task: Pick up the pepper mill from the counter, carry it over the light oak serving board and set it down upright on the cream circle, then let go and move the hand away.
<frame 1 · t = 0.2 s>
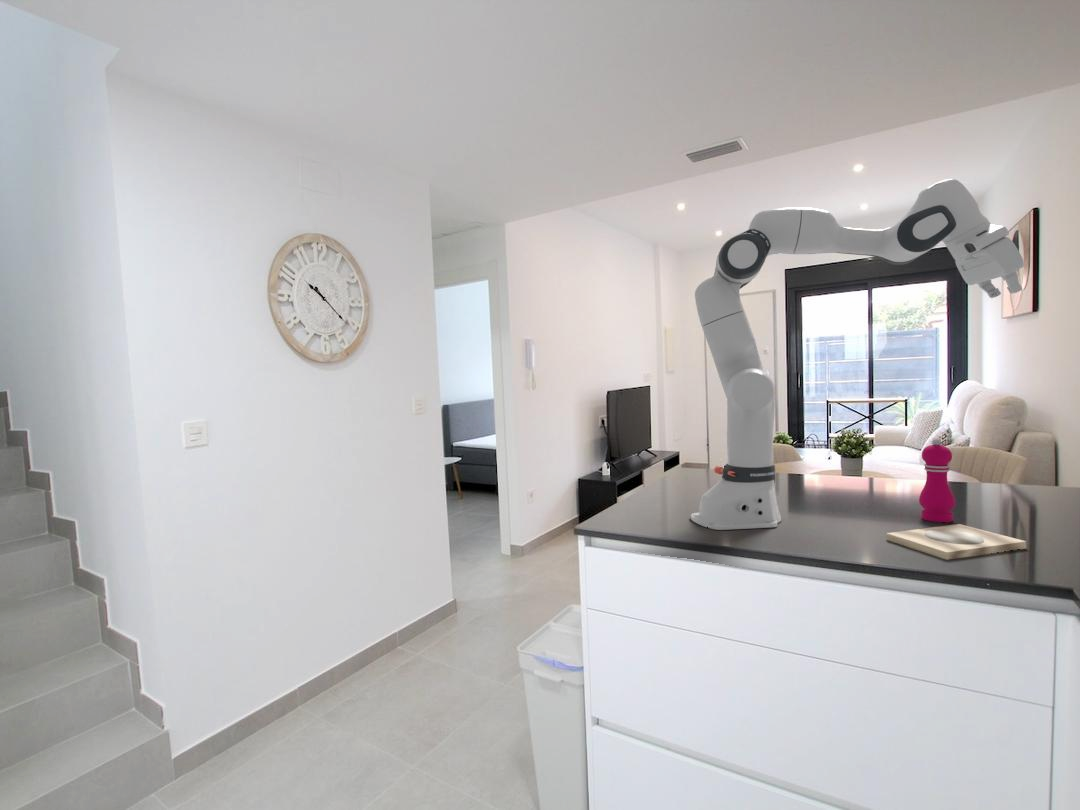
hand: (1006, 294, 125), 53 cm above the worktop, tool tilted 30°, fingers open, 8 cm apart
oak board: (953, 544, 116), on the worktop
pepper mill: (937, 520, 135), on the worktop
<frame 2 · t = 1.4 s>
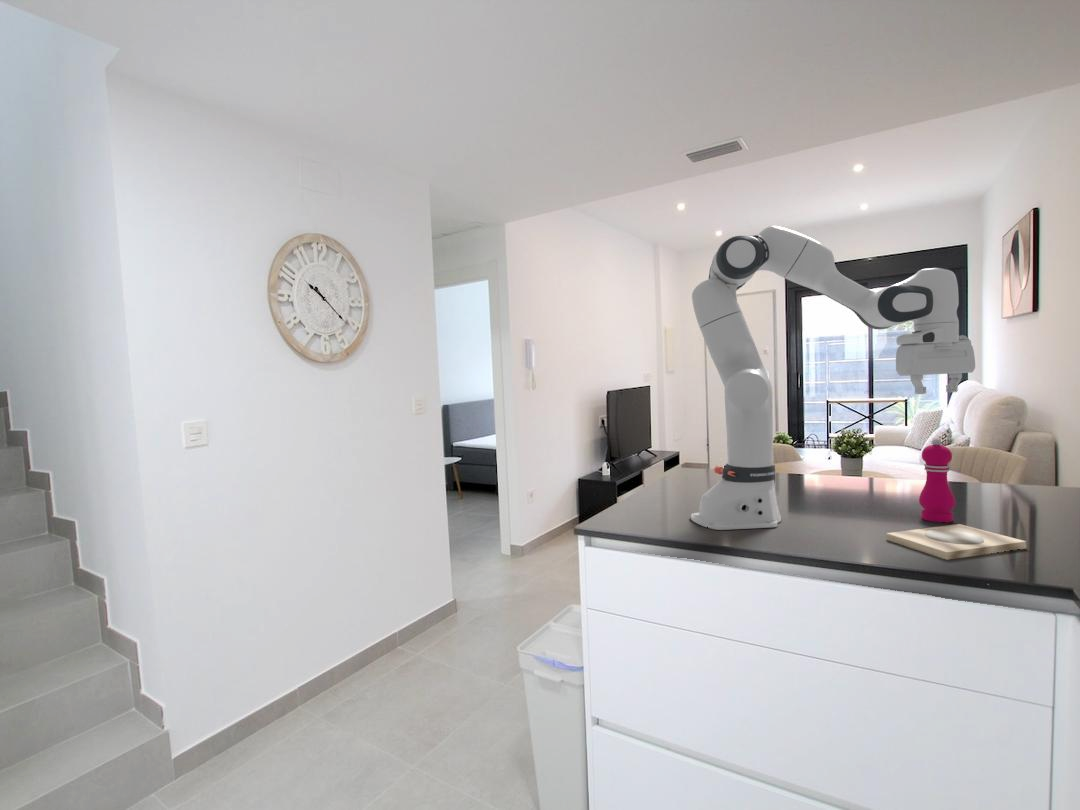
hand: (936, 393, 133), 31 cm above the worktop, tool pointing down, fingers open, 8 cm apart
nothing on the worktop moved.
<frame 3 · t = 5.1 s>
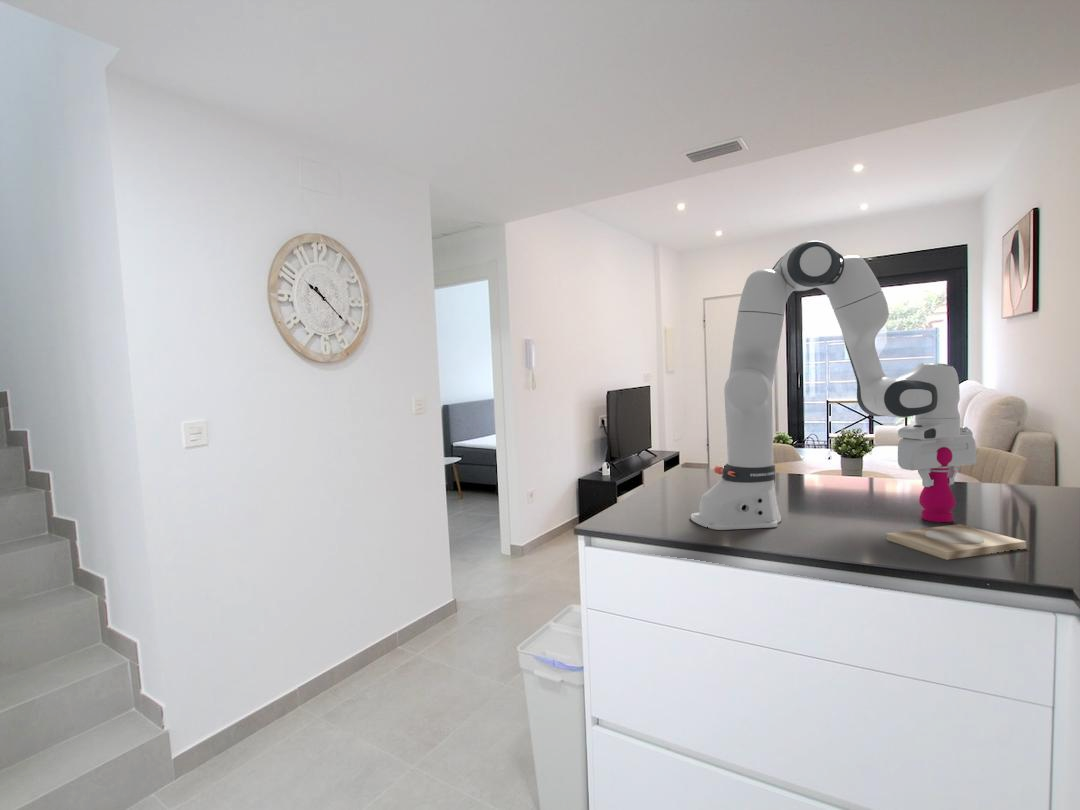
hand: (938, 485, 134), 8 cm above the worktop, tool pointing down, fingers open, 5 cm apart
pepper mill: (937, 520, 135), on the worktop, touching arm, gripper
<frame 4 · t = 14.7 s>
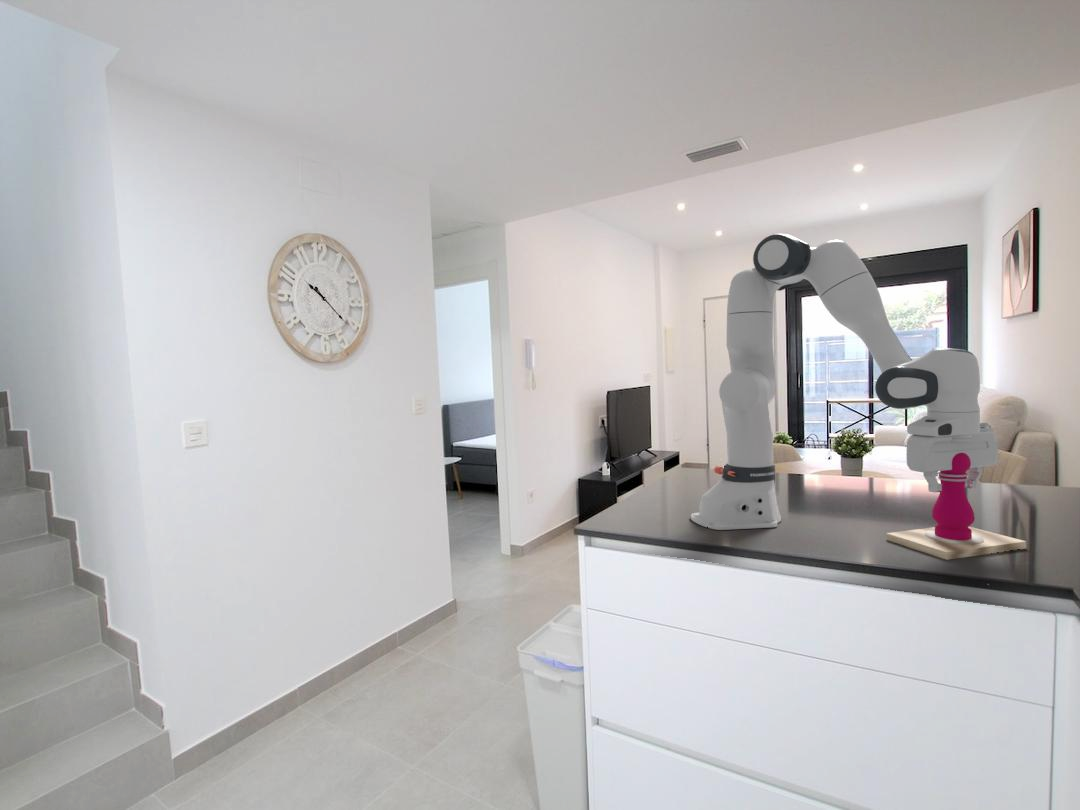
hand: (953, 490, 115), 12 cm above the worktop, tool pointing down, fingers open, 8 cm apart
pepper mill: (952, 537, 116), point 2 cm above the worktop, touching oak board
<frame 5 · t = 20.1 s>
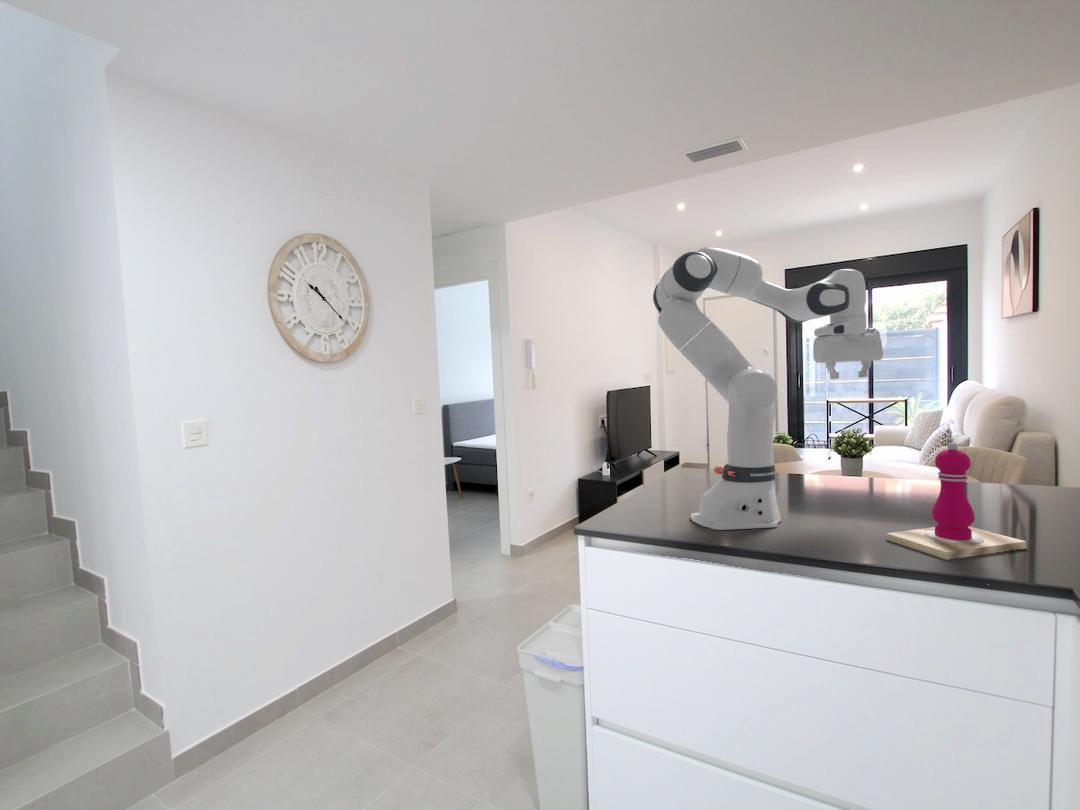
hand: (848, 378, 153), 35 cm above the worktop, tool pointing down, fingers open, 8 cm apart
nothing on the worktop moved.
at the end: pepper mill inside the target area on the oak board (0.2 cm from its centre), point 1.5 cm above the oak board's base; pepper mill tilted 0°; the gripper is holding nothing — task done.
